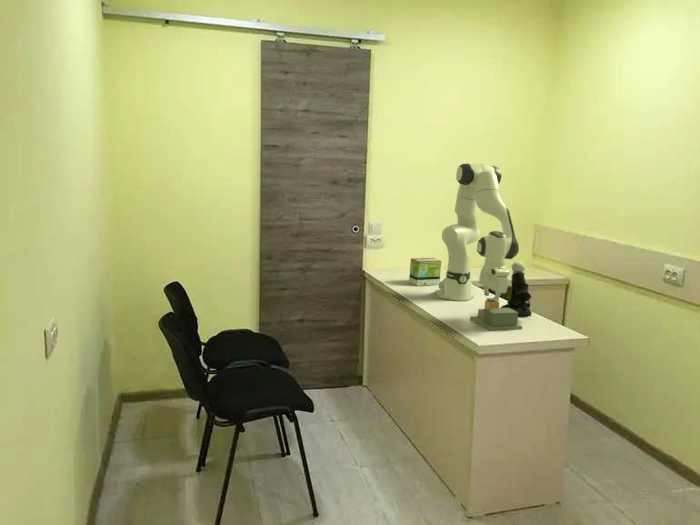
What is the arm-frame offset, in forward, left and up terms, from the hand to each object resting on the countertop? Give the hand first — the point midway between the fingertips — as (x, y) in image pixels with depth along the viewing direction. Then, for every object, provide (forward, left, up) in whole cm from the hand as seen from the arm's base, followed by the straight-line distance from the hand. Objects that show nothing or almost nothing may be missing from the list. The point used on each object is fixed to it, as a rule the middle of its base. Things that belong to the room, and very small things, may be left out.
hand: (491, 298), depth 265 cm
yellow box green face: (0, +1, -9) cm, 9 cm away
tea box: (-77, -1, -11) cm, 78 cm away
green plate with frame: (+5, +1, -11) cm, 12 cm away
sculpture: (-7, +18, -11) cm, 22 cm away
